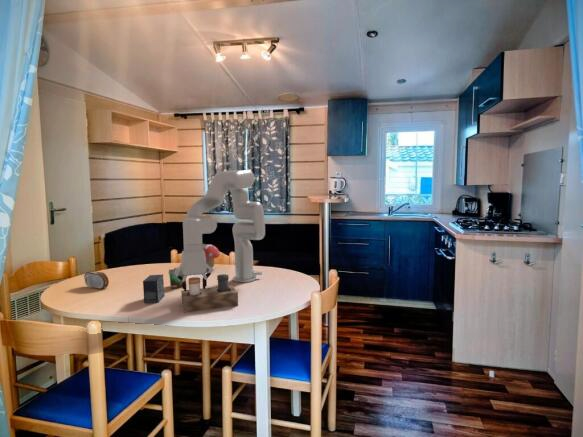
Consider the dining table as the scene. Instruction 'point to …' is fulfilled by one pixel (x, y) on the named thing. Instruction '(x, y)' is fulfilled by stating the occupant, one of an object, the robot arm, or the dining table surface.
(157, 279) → the small box
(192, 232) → the robot arm
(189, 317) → the dining table surface
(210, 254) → the decorative mushroom
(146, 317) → the dining table surface
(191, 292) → the orange-brown and white plug
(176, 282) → the food container
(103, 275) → the tin
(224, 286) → the black plug
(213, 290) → the block
